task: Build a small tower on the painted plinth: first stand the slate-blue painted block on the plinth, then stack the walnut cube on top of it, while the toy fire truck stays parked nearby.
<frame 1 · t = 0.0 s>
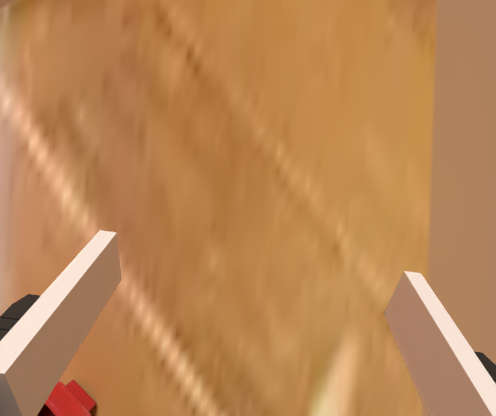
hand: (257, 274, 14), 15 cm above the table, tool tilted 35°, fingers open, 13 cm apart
toy fire truck: (63, 415, 27), on the table
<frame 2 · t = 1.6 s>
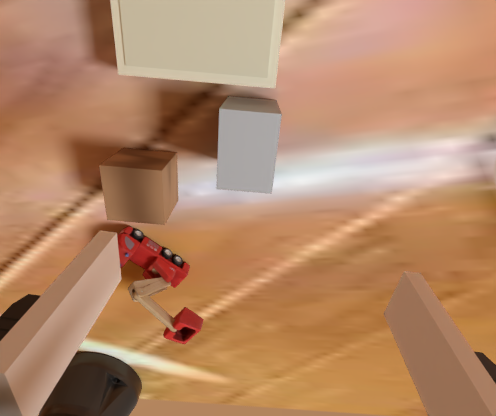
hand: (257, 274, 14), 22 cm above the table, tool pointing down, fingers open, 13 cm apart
plinth: (204, 20, 28), on the table
block a: (249, 131, 33), on the table
toy fire truck: (165, 257, 41), on the table
block b: (152, 174, 36), on the table
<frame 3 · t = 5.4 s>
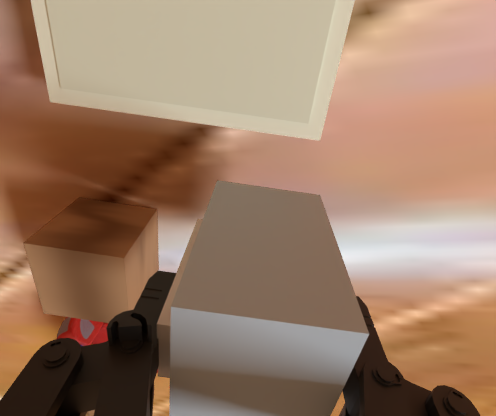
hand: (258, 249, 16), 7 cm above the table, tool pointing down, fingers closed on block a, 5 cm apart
plinth: (205, 12, 17), on the table
block a: (258, 246, 16), point 6 cm above the table, touching gripper
toy fire truck: (142, 332, 31), on the table
block b: (121, 234, 25), on the table
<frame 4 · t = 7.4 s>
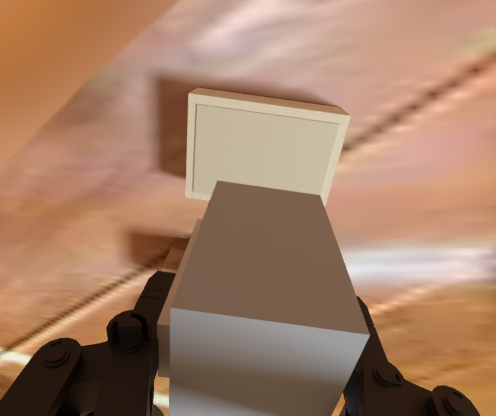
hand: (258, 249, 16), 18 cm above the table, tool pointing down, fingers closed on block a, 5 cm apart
plinth: (261, 147, 32), on the table
block a: (258, 246, 16), point 18 cm above the table, touching gripper
block b: (198, 259, 39), on the table
when the fingers open (5 cm above the table, at t = 9.9 s): block a stays where it is, resting on plinth.
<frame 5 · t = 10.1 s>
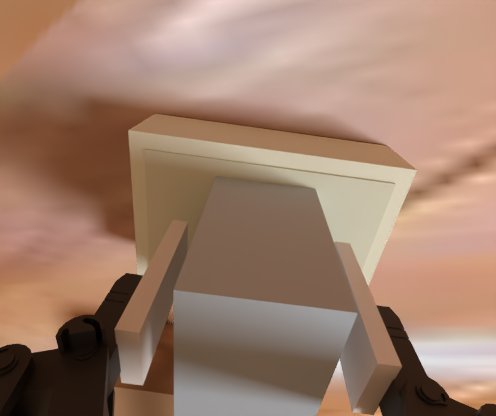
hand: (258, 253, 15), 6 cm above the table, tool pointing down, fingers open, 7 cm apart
plinth: (260, 203, 20), on the table
block a: (257, 239, 17), point 4 cm above the table, touching plinth
block b: (171, 345, 28), on the table
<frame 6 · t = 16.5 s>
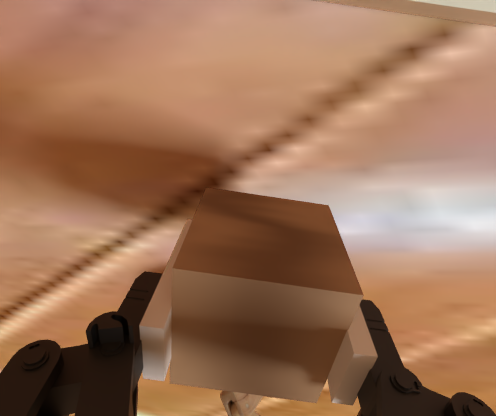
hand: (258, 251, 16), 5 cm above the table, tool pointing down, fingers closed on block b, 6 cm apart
toy fire truck: (257, 317, 26), on the table
block b: (258, 246, 16), point 5 cm above the table, touching gripper
when the fingers open (12 cm above the table, at t = 22.9 s): block b stays where it is, resting on block a.
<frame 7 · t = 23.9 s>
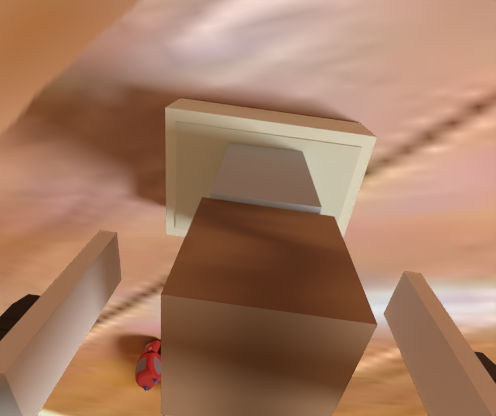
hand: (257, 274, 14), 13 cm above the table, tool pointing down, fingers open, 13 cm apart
plinth: (261, 170, 26), on the table
block a: (259, 193, 22), point 4 cm above the table, touching block b, plinth
toy fire truck: (191, 365, 39), on the table
block b: (258, 259, 15), point 12 cm above the table, touching block a
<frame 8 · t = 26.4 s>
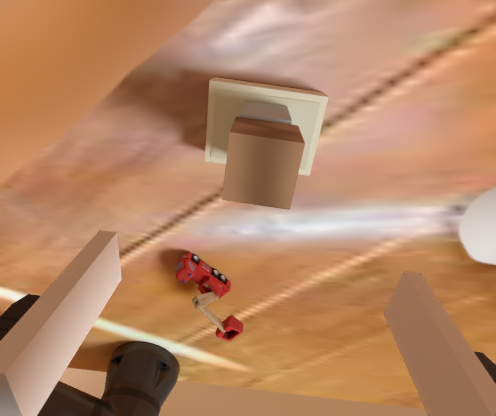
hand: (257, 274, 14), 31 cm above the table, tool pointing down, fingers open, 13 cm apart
plinth: (263, 123, 41), on the table
block a: (262, 132, 37), point 4 cm above the table, touching block b, plinth
toy fire truck: (212, 275, 55), on the table
block b: (262, 150, 30), point 12 cm above the table, touching block a
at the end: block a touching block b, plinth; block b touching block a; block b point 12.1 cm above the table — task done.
